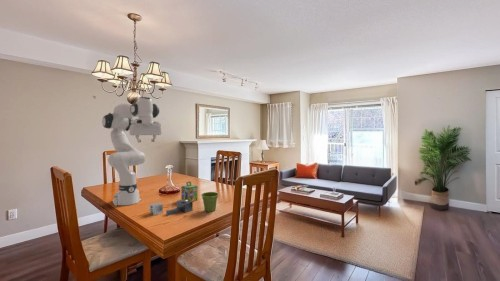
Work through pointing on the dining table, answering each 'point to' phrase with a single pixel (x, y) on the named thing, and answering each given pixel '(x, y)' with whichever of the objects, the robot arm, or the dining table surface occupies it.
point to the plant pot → (210, 201)
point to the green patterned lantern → (189, 192)
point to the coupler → (181, 207)
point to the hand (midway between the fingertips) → (146, 142)
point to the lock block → (156, 208)
